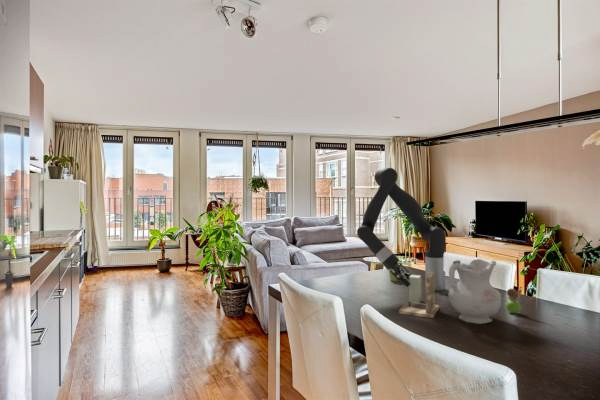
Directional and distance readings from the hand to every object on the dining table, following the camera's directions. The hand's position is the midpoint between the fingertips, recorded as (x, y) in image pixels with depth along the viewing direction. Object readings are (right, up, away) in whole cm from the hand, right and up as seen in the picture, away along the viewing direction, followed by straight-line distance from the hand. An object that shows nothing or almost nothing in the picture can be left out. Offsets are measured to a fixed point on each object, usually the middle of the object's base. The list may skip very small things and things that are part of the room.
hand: (411, 283), depth 176 cm
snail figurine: (+38, -8, -19) cm, 43 cm away
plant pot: (+4, -8, +42) cm, 43 cm away
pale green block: (+2, -8, -1) cm, 8 cm away
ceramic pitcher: (+17, -9, -26) cm, 33 cm away
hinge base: (-1, -8, -15) cm, 17 cm away
